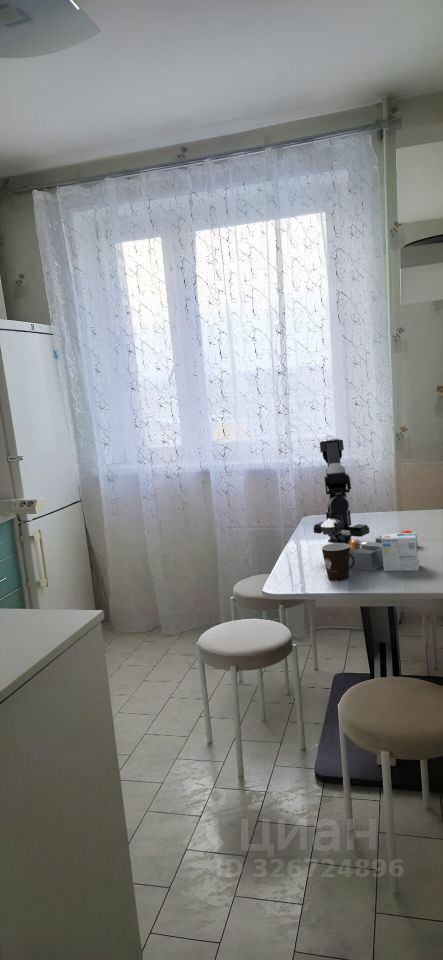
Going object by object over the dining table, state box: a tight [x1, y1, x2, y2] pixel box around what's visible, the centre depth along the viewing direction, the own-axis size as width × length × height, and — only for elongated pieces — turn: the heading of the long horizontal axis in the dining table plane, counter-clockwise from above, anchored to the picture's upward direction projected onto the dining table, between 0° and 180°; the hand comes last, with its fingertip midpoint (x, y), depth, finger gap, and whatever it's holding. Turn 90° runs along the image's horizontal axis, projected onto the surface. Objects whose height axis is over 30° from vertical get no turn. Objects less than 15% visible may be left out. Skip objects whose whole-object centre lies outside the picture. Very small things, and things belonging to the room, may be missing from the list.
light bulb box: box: [381, 532, 420, 572], centre depth 200 cm, size 11×7×11 cm, turn 71°
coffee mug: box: [321, 542, 355, 582], centre depth 196 cm, size 12×9×10 cm
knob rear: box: [348, 539, 369, 549], centre depth 219 cm, size 9×4×4 cm, turn 47°
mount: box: [349, 535, 383, 572], centre depth 211 cm, size 8×21×6 cm, turn 137°
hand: (342, 553), depth 215 cm, fingers closed
